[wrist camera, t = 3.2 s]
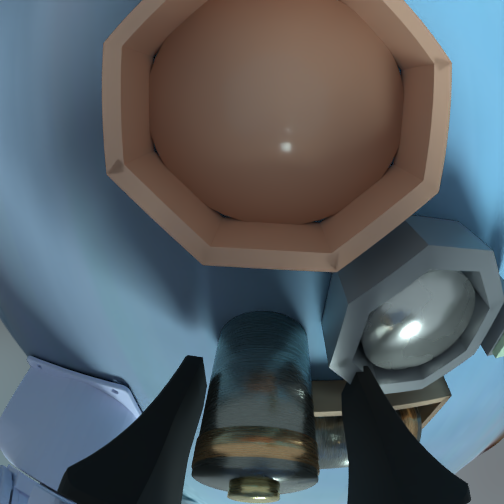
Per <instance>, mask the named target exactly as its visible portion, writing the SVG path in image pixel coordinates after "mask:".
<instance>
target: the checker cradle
mask: <svg viewBox="0 0 504 504" xmlns="http://www.w3.org/2000/svg"><path fill="white" fill-rule="evenodd" d="M429 270H453V271H462V273H463V274H464V275H465V276H466V277H467V278H468V280H469V281H470V282H471V284H472V286H473V288H474V292H475V306H474V310H473V314H472V316H471V319H470V321H469V323H468V325H467V327H466V328H465V330H464V331H463V333H462V334H461V335H460V337H459V338H458V339H457V340H456V341H455V342H454V343H453V344H452V345H451V346H450V347H449V348H448V349H447V350H445V351H444V352H443V353H441V354H440V355H438V356H437V357H435V358H434V359H432V360H430V361H428V362H426V363H423V364H421V365H418V366H415V367H412V368H407V369H399V370H392V369H385V368H381V367H378V366H376V365H375V364H373V363H372V362H371V361H370V360H369V359H368V358H367V357H366V355H365V353H364V349H363V346H362V342H361V337H362V334H363V331H364V328H365V325H366V323H367V320H368V317H369V314H370V312H372V311H373V310H375V309H376V308H378V307H379V306H381V305H382V304H384V303H385V302H386V301H388V300H389V299H391V298H392V297H394V296H395V295H396V294H398V293H399V292H401V291H402V290H403V289H405V288H406V287H407V286H409V285H410V284H411V283H413V282H414V281H415V280H417V279H418V278H419V277H421V276H422V275H423V274H425V273H426V272H427V271H429ZM321 324H322V329H323V335H324V341H325V347H326V353H327V359H328V365H329V368H330V369H331V370H333V371H334V372H335V373H336V374H338V375H339V376H340V377H341V378H343V379H344V380H345V381H347V382H348V383H349V384H350V385H351V382H352V380H353V378H354V376H355V374H356V372H363V366H368V367H369V368H370V370H371V371H372V373H373V375H374V377H375V378H376V380H377V382H378V384H379V385H380V387H381V389H382V390H383V392H384V394H389V393H398V392H405V391H412V390H419V389H423V388H424V387H426V386H428V385H429V384H431V383H433V382H434V381H436V380H437V379H439V378H440V377H442V376H444V375H445V374H447V373H448V372H450V371H451V370H453V369H454V368H456V367H457V366H458V365H460V364H461V363H463V362H464V361H465V360H467V359H468V358H470V357H471V356H472V355H474V354H475V352H476V351H477V349H478V348H479V346H480V344H481V346H482V348H483V349H484V351H485V353H486V355H487V356H489V355H494V356H495V358H498V357H502V356H504V280H503V279H502V277H501V276H500V275H499V271H498V267H497V263H496V259H495V255H494V252H493V250H492V249H491V248H490V247H488V246H487V245H486V244H485V243H484V242H483V241H482V240H481V239H479V238H478V237H477V236H476V235H475V234H473V233H472V232H471V231H470V230H469V229H467V228H466V227H465V226H464V225H463V224H461V223H460V222H459V221H453V220H446V219H439V218H432V217H424V216H416V215H411V216H410V217H409V218H407V219H406V220H405V221H404V222H402V223H401V224H400V225H399V226H397V227H396V228H395V229H393V230H392V231H391V232H390V233H388V234H387V235H386V236H384V237H383V238H382V239H381V240H379V241H378V242H377V243H375V244H374V245H373V246H371V247H370V248H369V249H367V250H366V251H365V252H363V253H362V254H361V255H359V256H358V257H357V258H355V259H354V260H353V261H351V262H350V263H349V264H347V265H346V266H345V267H343V268H342V269H340V270H339V271H338V272H332V276H331V281H330V286H329V290H328V295H327V300H326V304H325V309H324V313H323V318H322V322H321Z"/></svg>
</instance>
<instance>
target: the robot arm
mask: <svg viewBox="0 0 504 504" xmlns="http://www.w3.org/2000/svg"><path fill="white" fill-rule="evenodd" d="M27 362H28V363H29V365H30V366H31V367H30V369H29V370H28V372H27V373H26V375H25V377H24V378H23V380H22V381H21V383H20V384H19V386H18V388H17V390H16V391H15V393H14V394H13V396H12V398H11V399H10V401H9V403H8V405H7V406H6V408H5V410H4V412H3V413H2V415H1V417H0V449H1V451H2V453H3V455H4V456H5V457H6V458H7V460H8V461H9V462H10V463H12V464H13V465H14V466H16V467H17V468H19V469H20V470H22V471H23V472H25V473H26V474H28V475H29V476H31V477H32V478H34V479H35V480H37V481H39V482H40V484H38V483H37V482H35V481H34V480H32V479H31V478H29V477H27V476H26V475H24V474H23V473H21V472H20V471H18V470H17V469H15V468H14V467H12V466H11V465H10V464H8V466H7V468H6V467H5V466H4V465H0V504H181V500H182V492H183V486H184V479H185V473H186V468H187V462H188V457H189V453H190V449H191V446H192V443H193V439H194V436H195V433H196V429H197V426H198V423H199V419H200V416H201V413H202V409H203V405H204V400H205V394H206V388H207V384H206V377H205V370H204V363H203V357H197V356H190V355H188V356H186V357H185V358H184V360H183V362H182V363H181V365H180V366H179V368H178V369H177V371H176V372H175V374H174V375H173V376H172V378H171V379H170V381H169V382H168V383H167V385H166V386H165V387H164V388H163V390H162V391H161V392H160V393H159V395H158V396H157V397H156V398H155V400H154V401H153V402H152V403H151V404H150V405H149V406H148V407H147V409H146V410H145V411H144V412H143V413H141V411H140V409H139V407H138V405H137V403H136V401H135V399H134V397H133V395H132V393H131V391H130V390H129V388H127V387H126V386H124V385H121V384H117V383H113V382H109V381H105V380H102V379H98V378H94V377H91V376H88V375H84V374H81V373H78V372H75V371H71V370H68V369H65V368H62V367H60V366H57V365H54V364H51V363H48V362H46V361H43V360H40V359H38V358H35V357H33V356H28V358H27ZM341 402H342V419H343V426H344V433H345V440H346V447H347V454H348V465H349V484H348V502H347V504H467V503H469V502H470V501H471V497H470V491H469V487H468V483H466V482H464V481H463V480H462V479H460V478H458V477H457V476H456V475H454V474H453V473H451V472H450V471H449V470H448V469H446V468H445V467H444V466H443V465H442V464H441V463H439V462H438V461H437V460H436V459H435V458H434V457H433V456H432V455H431V454H430V453H429V452H428V451H427V450H426V449H425V448H424V447H423V446H422V445H421V444H420V443H419V441H418V440H417V439H416V438H415V437H414V435H413V434H412V433H411V432H410V430H409V429H408V428H407V427H406V425H405V424H404V422H403V421H402V420H401V418H400V417H399V415H398V414H397V412H396V411H395V409H394V408H393V406H392V405H391V403H390V402H389V400H388V399H387V397H386V395H385V394H384V392H383V390H382V389H381V387H380V385H379V384H378V382H377V380H376V378H375V377H374V375H373V373H372V371H371V370H370V368H369V367H368V366H363V372H356V374H355V376H354V378H353V380H352V382H351V385H350V384H349V383H348V382H346V385H345V387H344V389H343V391H342V393H341Z"/></svg>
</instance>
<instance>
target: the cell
mask: <svg viewBox="0 0 504 504" xmlns="http://www.w3.org/2000/svg"><path fill="white" fill-rule="evenodd" d="M191 467H192V477H193V478H194V479H195V480H196V481H198V482H200V483H202V484H204V485H206V486H209V487H212V488H215V489H219V490H223V491H227V492H228V496H227V497H228V498H229V499H232V500H235V501H240V502H248V503H269V502H275V501H278V500H279V499H280V494H286V493H292V492H297V491H301V490H305V489H308V488H310V487H312V486H314V485H315V484H316V483H317V482H318V475H319V472H320V471H319V453H318V444H317V442H316V430H315V416H314V403H313V392H312V381H311V370H310V360H309V350H308V341H307V336H306V333H305V331H304V329H303V328H302V326H301V325H300V324H299V323H297V322H296V321H295V320H293V319H292V318H290V317H288V316H286V315H283V314H280V313H276V312H269V311H255V312H249V313H245V314H241V315H239V316H237V317H235V318H233V319H232V320H230V321H229V322H228V323H227V324H226V325H225V326H224V327H223V329H222V331H221V333H220V337H219V342H218V347H217V351H216V356H215V361H214V365H213V370H212V375H211V380H210V385H209V389H208V394H207V399H206V404H205V409H204V414H203V419H202V424H201V429H200V434H199V437H198V438H197V441H196V446H195V451H194V456H193V461H192V466H191Z"/></svg>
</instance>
